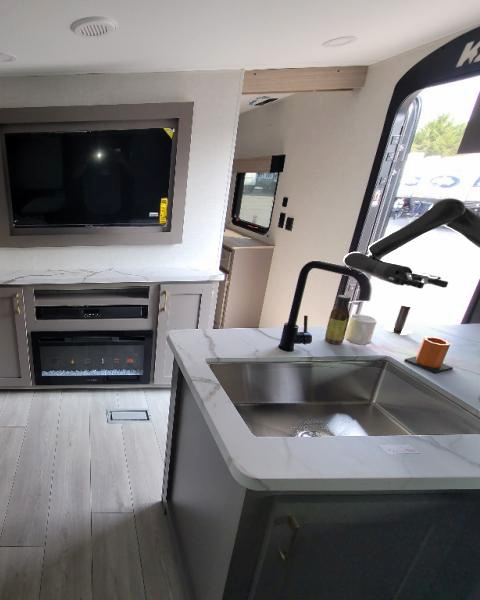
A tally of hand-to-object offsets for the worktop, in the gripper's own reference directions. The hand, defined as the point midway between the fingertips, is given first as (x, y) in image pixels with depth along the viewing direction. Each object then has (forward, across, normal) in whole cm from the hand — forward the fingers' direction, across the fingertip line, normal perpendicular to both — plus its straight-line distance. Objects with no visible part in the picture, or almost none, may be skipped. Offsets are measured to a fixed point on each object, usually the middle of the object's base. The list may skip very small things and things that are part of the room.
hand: (434, 285), depth 114 cm
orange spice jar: (+7, 0, +27) cm, 28 cm away
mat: (+7, 0, +28) cm, 29 cm away
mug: (-11, -11, +28) cm, 32 cm away
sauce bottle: (-13, -19, +28) cm, 37 cm away
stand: (-18, +12, +28) cm, 35 cm away
